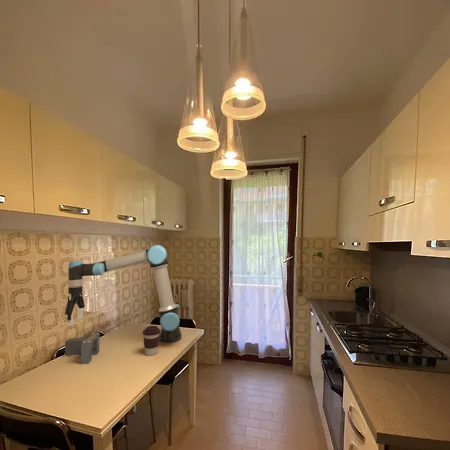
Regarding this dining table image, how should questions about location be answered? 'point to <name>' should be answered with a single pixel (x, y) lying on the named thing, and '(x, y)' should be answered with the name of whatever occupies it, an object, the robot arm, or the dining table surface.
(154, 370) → the dining table surface
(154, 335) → the coffee cup
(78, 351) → the plug
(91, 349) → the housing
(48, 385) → the dining table surface
